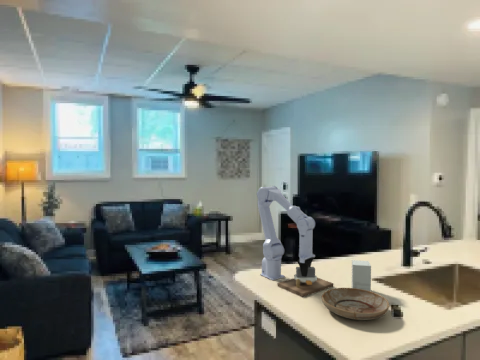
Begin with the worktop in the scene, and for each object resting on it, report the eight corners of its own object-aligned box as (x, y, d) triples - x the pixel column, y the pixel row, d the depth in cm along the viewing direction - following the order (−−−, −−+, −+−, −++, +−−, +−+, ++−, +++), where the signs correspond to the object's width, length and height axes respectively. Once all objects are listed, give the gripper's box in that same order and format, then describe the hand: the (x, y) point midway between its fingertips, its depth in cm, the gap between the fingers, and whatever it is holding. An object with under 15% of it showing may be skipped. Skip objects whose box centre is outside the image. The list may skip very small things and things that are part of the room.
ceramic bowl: (336, 294, 139) (336, 282, 138) (396, 310, 124) (396, 297, 123) (310, 313, 121) (311, 300, 120) (377, 334, 106) (377, 319, 106)
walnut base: (277, 286, 147) (277, 275, 147) (308, 277, 159) (308, 267, 159) (302, 297, 135) (302, 285, 135) (333, 286, 147) (333, 276, 147)
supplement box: (368, 289, 144) (369, 260, 143) (370, 295, 137) (371, 265, 136) (351, 287, 146) (351, 259, 145) (352, 293, 139) (352, 264, 138)
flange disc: (292, 275, 152) (292, 264, 152) (313, 274, 152) (313, 264, 152) (297, 284, 140) (298, 273, 139) (321, 284, 140) (321, 272, 140)
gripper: (311, 249, 138) (311, 281, 139) (318, 241, 151) (317, 270, 152) (295, 247, 141) (294, 278, 141) (302, 240, 154) (302, 268, 155)
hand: (305, 274), depth 147 cm, fingers closed on flange disc, 4 cm apart
